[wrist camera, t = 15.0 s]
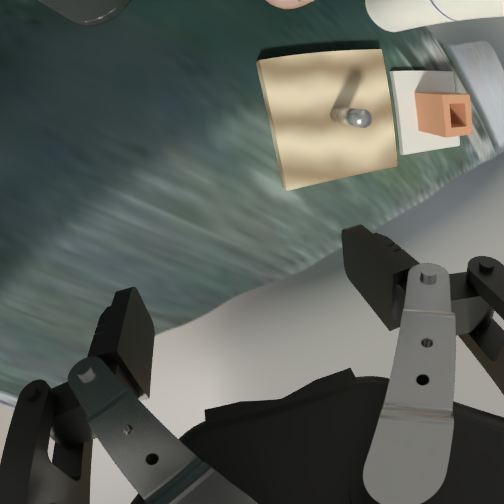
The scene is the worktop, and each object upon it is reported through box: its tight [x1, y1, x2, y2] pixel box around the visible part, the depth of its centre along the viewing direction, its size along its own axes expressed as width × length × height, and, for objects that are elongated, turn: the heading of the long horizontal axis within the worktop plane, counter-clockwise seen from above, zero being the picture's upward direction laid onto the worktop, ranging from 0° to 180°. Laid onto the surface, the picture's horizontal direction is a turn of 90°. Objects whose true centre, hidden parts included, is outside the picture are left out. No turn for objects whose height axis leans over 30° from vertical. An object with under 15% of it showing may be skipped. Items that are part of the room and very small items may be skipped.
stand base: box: [256, 49, 397, 191], centre depth 36 cm, size 16×16×2 cm
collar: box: [414, 92, 472, 138], centre depth 35 cm, size 6×6×6 cm
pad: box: [390, 71, 460, 155], centre depth 38 cm, size 12×12×1 cm
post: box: [330, 107, 372, 128], centre depth 32 cm, size 2×2×6 cm
